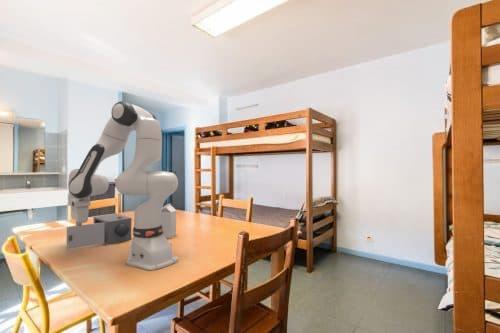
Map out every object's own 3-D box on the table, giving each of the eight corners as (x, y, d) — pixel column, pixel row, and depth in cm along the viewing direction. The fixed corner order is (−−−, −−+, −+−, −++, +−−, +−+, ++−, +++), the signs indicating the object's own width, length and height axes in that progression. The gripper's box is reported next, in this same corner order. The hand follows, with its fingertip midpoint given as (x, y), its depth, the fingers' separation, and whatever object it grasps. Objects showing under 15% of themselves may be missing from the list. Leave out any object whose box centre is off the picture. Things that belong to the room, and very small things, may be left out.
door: (106, 242, 123) (106, 222, 123) (106, 243, 121) (106, 222, 121) (66, 248, 112) (66, 226, 112) (66, 250, 111) (66, 227, 111)
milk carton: (176, 235, 140) (176, 203, 140) (171, 238, 133) (171, 205, 133) (164, 234, 141) (165, 203, 141) (159, 238, 134) (159, 205, 134)
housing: (133, 240, 129) (133, 217, 130) (109, 245, 120) (110, 221, 120) (115, 233, 143) (115, 212, 143) (93, 237, 134) (93, 215, 134)
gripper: (67, 199, 121) (67, 226, 121) (75, 204, 107) (74, 234, 107) (82, 198, 126) (82, 224, 126) (91, 202, 112) (90, 231, 112)
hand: (78, 228), depth 116 cm, fingers closed
